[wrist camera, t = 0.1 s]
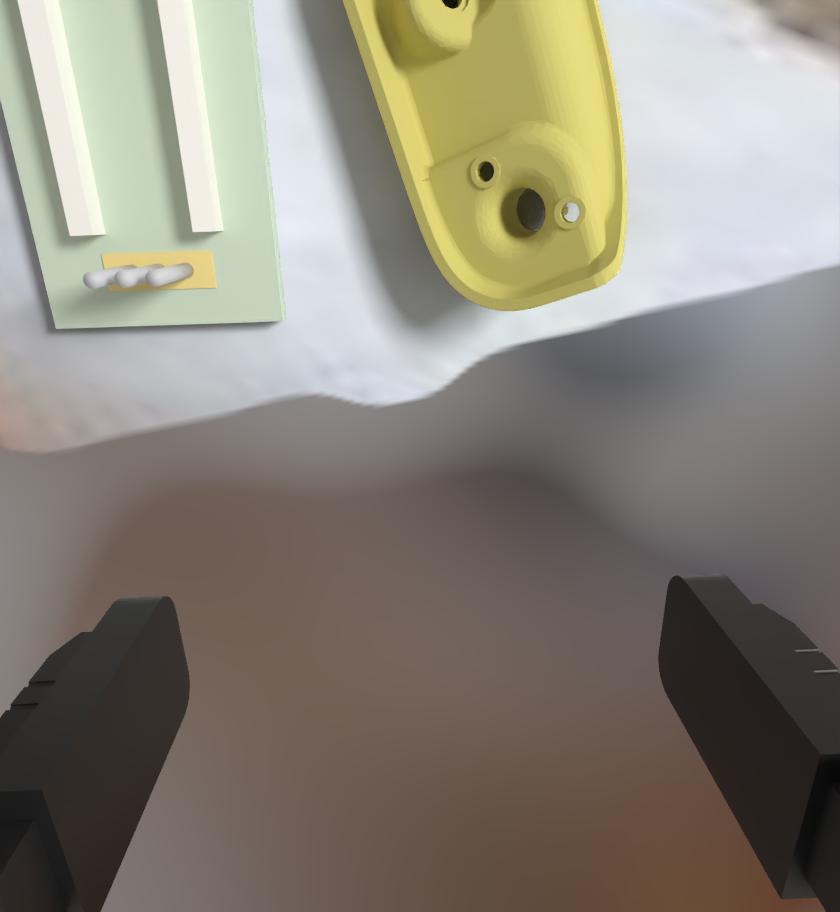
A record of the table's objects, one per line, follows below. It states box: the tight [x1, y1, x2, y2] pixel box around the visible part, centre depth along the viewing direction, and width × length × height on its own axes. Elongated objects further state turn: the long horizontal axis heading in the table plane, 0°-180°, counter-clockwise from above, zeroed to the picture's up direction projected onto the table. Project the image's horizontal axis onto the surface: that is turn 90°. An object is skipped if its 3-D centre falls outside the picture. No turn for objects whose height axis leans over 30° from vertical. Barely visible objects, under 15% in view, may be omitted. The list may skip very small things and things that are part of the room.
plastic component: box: [342, 0, 627, 311], centre depth 31 cm, size 20×7×10 cm
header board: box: [0, 0, 286, 329], centre depth 30 cm, size 18×13×6 cm
